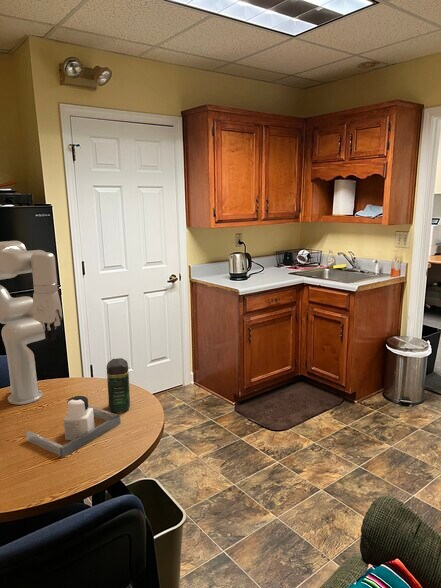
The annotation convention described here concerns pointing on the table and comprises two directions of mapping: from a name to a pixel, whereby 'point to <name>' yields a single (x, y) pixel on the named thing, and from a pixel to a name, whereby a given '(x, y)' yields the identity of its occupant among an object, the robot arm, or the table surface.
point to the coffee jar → (118, 385)
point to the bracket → (73, 445)
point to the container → (78, 418)
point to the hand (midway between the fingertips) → (50, 340)
